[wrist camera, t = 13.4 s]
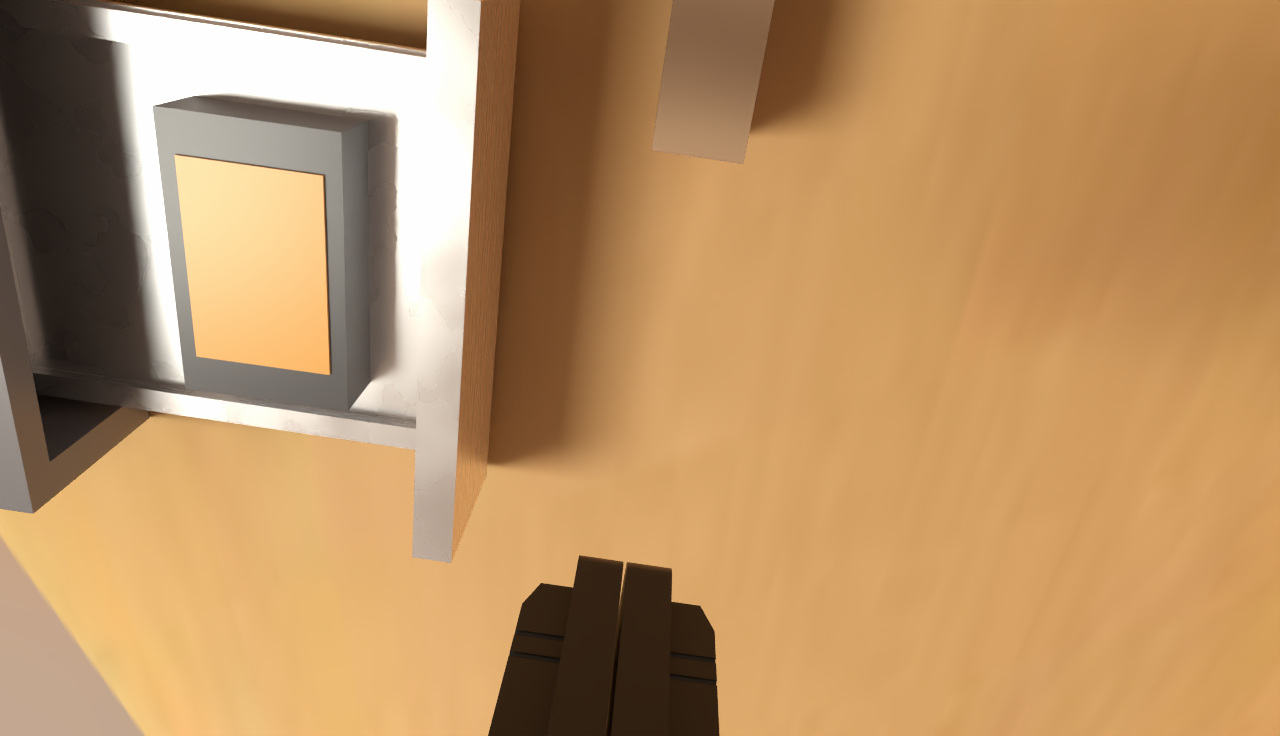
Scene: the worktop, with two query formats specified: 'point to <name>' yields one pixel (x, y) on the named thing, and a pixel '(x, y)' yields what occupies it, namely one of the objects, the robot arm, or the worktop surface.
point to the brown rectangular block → (711, 77)
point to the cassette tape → (268, 249)
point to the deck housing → (44, 417)
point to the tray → (137, 235)
